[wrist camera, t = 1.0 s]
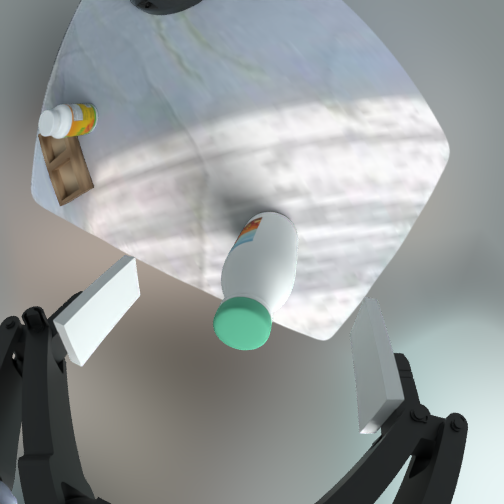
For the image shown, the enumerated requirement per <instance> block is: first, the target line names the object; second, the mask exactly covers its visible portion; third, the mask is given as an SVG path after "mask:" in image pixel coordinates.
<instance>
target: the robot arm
mask: <svg viewBox="0 0 504 504" xmlns="http://www.w3.org/2000/svg"><path fill="white" fill-rule="evenodd" d="M130 1H131V2H132V3H133V4H134V5H135V6H136V7H137V8H139V9H141V10H143V11H144V12H147V13H149V14H154V15H167V14H172V13H176V12H180V11H183V10H185V9H188V8H190V7H192V6H194V5H196V4H197V3H199V2H201V1H202V0H130ZM139 296H140V290H139V283H138V276H137V269H136V261H135V257H132V256H127V255H125V256H123V257H122V258H121V259H120V260H118V261H117V262H116V263H115V264H114V265H113V266H111V268H109V269H108V270H107V271H106V272H105V273H104V274H102V275H101V276H100V277H99V278H98V279H97V280H96V281H94V282H93V283H92V284H91V285H90V286H89V287H88V288H87V289H86V290H84V291H80V292H78V293H76V294H74V295H73V296H72V297H71V298H70V299H69V300H68V301H67V302H65V303H64V304H63V306H61V307H60V308H59V309H58V310H57V311H56V312H55V313H54V314H53V315H52V316H51V317H49V318H48V319H47V318H46V316H45V313H44V311H43V309H42V308H41V307H38V306H37V307H31V308H29V309H27V310H26V311H25V312H24V313H23V315H22V319H23V321H24V323H25V325H22V324H21V323H20V320H19V318H18V317H16V316H10V317H8V318H6V319H5V320H4V321H3V322H2V323H1V325H0V504H17V500H16V498H15V497H14V495H12V493H11V491H12V488H13V483H14V479H15V470H16V469H15V468H16V459H17V449H18V441H19V434H20V428H21V423H22V431H23V432H22V433H23V446H24V455H23V456H22V457H20V458H19V460H18V468H19V475H20V482H21V487H22V492H23V497H24V501H25V504H111V503H109V502H107V501H105V500H102V499H101V498H99V497H98V498H97V499H95V497H94V494H93V492H92V490H91V487H90V485H89V484H88V483H87V481H86V479H85V477H84V475H83V471H82V467H81V463H80V459H79V455H78V451H77V446H76V441H75V436H74V430H73V424H72V419H71V411H70V404H69V396H68V385H67V372H66V361H65V358H64V357H65V356H66V355H67V354H68V356H69V358H70V360H71V361H72V362H74V363H76V364H77V365H79V366H83V365H84V363H85V362H86V361H87V359H88V358H89V357H90V356H91V354H92V353H93V352H94V351H95V349H96V348H97V347H98V345H99V344H100V343H101V342H102V341H103V339H104V338H105V337H106V336H107V334H108V333H109V332H110V331H111V329H112V328H113V327H114V326H115V325H116V323H117V322H118V321H119V320H120V319H121V317H122V316H123V315H124V314H125V313H126V311H127V310H128V309H129V307H131V305H132V304H133V303H134V302H135V301H136V300H137V298H138V297H139ZM350 339H351V346H352V354H353V364H354V373H355V382H356V392H357V404H358V417H359V418H358V419H359V433H376V432H377V431H378V430H379V428H380V427H381V434H382V435H381V436H380V437H379V438H378V439H377V440H376V441H375V442H374V443H373V444H372V446H371V448H370V449H369V450H368V451H367V452H366V453H365V454H364V456H363V457H362V458H361V459H360V460H359V461H358V462H357V463H356V464H355V465H354V467H353V468H352V469H351V470H350V471H349V472H348V473H347V474H346V475H345V476H344V477H343V478H342V479H341V480H340V481H339V482H338V483H337V484H336V485H335V486H334V487H333V488H332V489H331V490H330V491H328V492H327V493H326V494H325V495H324V496H323V497H322V498H321V499H320V500H319V501H317V502H316V503H315V504H374V503H375V501H376V500H377V499H378V498H379V497H380V495H381V494H382V493H383V492H384V491H385V489H386V488H387V487H388V485H389V484H390V483H391V482H392V480H393V479H394V478H395V476H396V475H397V473H398V472H399V471H400V469H401V468H402V466H403V465H404V464H405V462H406V460H407V459H408V458H409V456H410V455H412V458H411V460H410V463H409V466H408V469H407V471H406V474H405V476H404V479H403V481H402V483H401V486H400V489H399V490H398V493H397V495H396V497H395V499H394V502H393V503H392V504H451V501H452V498H453V495H454V492H455V488H456V485H457V481H458V477H459V473H460V469H461V464H462V460H463V454H464V450H465V443H466V438H467V431H468V423H467V421H466V419H465V418H464V417H463V416H462V415H461V414H459V413H452V414H450V415H449V416H448V417H447V418H446V419H445V418H441V417H436V416H433V415H430V412H429V410H428V409H427V408H426V407H425V406H424V405H422V404H420V401H419V397H418V393H417V389H416V386H415V382H414V379H413V375H412V372H411V367H410V364H409V361H408V360H407V358H406V357H405V356H404V354H401V353H393V350H392V346H391V343H390V339H389V336H388V332H387V329H386V326H385V322H384V319H383V316H382V313H381V310H380V306H379V303H378V301H377V299H374V298H367V297H364V299H363V302H362V305H361V307H360V310H359V313H358V315H357V318H356V321H355V323H354V326H353V328H352V331H351V333H350ZM13 353H14V354H15V358H14V359H13V358H12V355H13Z"/></svg>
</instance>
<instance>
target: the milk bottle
mask: <svg viewBox="0 0 504 504" xmlns="http://www.w3.org/2000/svg"><path fill="white" fill-rule="evenodd" d="M297 253H298V233H297V230H296V228H295V226H294V224H293V223H292V222H291V221H290V220H289V219H288V218H287V217H285V216H284V215H282V214H279V213H275V212H263V213H260V214H257V215H256V216H254V217H253V218H251V219H250V220H249V221H248V223H247V224H246V225H245V227H244V229H243V230H242V232H241V234H240V235H239V237H238V238H237V240H236V242H235V244H234V245H233V247H232V249H231V251H230V252H229V254H228V256H227V258H226V260H225V263H224V266H223V269H222V275H221V285H222V290H223V294H224V297H225V298H224V299H223V300H222V302H221V304H220V306H219V308H218V310H217V312H216V314H215V317H214V321H213V327H214V331H215V333H216V335H217V336H218V338H219V339H220V340H221V341H223V342H224V343H225V344H227V345H228V346H230V347H233V348H236V349H240V350H251V349H256V348H258V347H260V346H262V345H263V344H264V343H265V342H266V341H267V339H268V337H269V334H270V331H271V325H272V321H273V313H274V312H275V311H277V310H278V309H279V308H280V307H281V306H282V305H283V304H284V303H285V302H286V300H287V299H288V297H289V295H290V293H291V291H292V288H293V285H294V280H295V274H296V265H297Z"/></svg>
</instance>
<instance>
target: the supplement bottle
mask: <svg viewBox="0 0 504 504" xmlns="http://www.w3.org/2000/svg"><path fill="white" fill-rule="evenodd" d="M97 121H98V112H97V109H96V108H95V106H93V105H92V104H61V105H58V106H56V107H55V108H54V109H50V110H45V111H44V112H43V113H42V114H41V116H40V119H39V131H40V134H41V135H42V136H45V137H46V136H52V137H54V138H56V139H60V138H66V137H72V136H79V135H86V134H89V133H91V132H92V131H93V130H94V128H95V127H96V125H97Z"/></svg>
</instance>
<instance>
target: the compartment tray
mask: <svg viewBox="0 0 504 504" xmlns="http://www.w3.org/2000/svg"><path fill="white" fill-rule="evenodd" d="M38 137H39V141H40V145H41V149H42V152H43V156H44V159H45V163H46V166H47V169H48V173H49V176H50V179H51V182H52V185H53V188H54V191H55V194H56V196H57V199H58V202H59V205H60V206H62V205H65V204H67V203H69V202H71V201H72V200H74V199H75V198H77V197H79V196H80V195H82V194H84V193H85V192H87V191H89V190H90V189H92V188H94V185H93V183H92V180H91V177H90V174H89V171H88V168H87V165H86V162H85V159H84V156H83V153H82V150H81V147H80V144H79V140H78V137H77V136H72V137H66V138H60V139H56V138H54V137H52V136H46V137H45V136H42V135H41V134H39V135H38Z"/></svg>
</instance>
